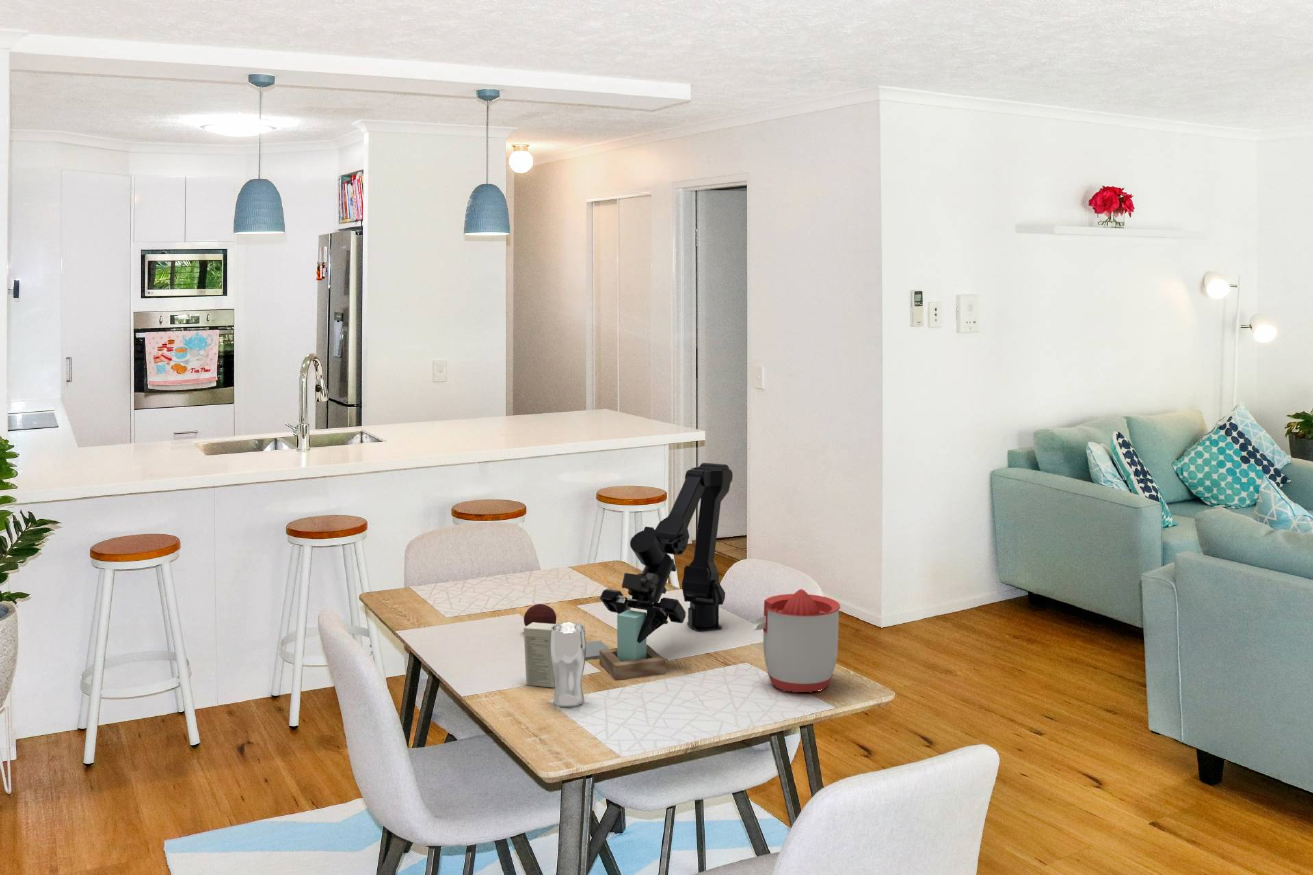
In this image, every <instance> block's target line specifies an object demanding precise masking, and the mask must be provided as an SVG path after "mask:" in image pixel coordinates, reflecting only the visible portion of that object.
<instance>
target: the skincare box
mask: <svg viewBox="0 0 1313 875" xmlns="http://www.w3.org/2000/svg"><path fill="white" fill-rule="evenodd" d="M556 624H557V623H556ZM556 624H548V623H535V622H532V623H531V624H529V625H528V626H524V627H523V638H524V642H523V643H524V659H525V660H524V662H525V679H526V680H525V684H526V685H527V686H532V687H533V686H534V687H543V688H555V679H554V673H553V668H552V663H551V656H550V638H551V627H552V626H554V625H556Z"/></svg>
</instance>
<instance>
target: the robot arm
mask: <svg viewBox="0 0 1313 875" xmlns="http://www.w3.org/2000/svg"><path fill="white" fill-rule="evenodd" d="M733 477H734V475H733V471H732V469H730V467H729V465H728V464H727V463H711V462H702V463H701V464H700V465H699V466H696V467H695V466H694V467H691V469H687V471H686V472H685V476H684V481H683V484H682V486H681V489H679V490H680V491H679V492H678V495H677V497H676V499H675V501H674V503H673V506H672V508H671V510H670V512H669V514H668V516H667V517H665V518H663V519H662V520H660V521H659V523H658V524H657V526H655V527H656V528H654V527H653V526H652V527H651V526H644V528H643V530H641V531H639V532H637V533H635V534H634V535H633V536H632V537H631V539H630V542H629V546H630V548H631V550H632V552H633V553H634V554H635V556H636V558H637V560H639V562H640V564H642V565H643V566H644V568H643V569H642V572H641V573H639V572H638V573H637V574H636V573H630V572H629V573H627V572H625V573H624V575H623V579H622V583H621V588H622V589H626V590H628V591H627V594H628V595H629V596H631V598H630V597H627V596H624V594H623V593H622V592H621V590H617V589H610V588H605V589H603V591H602V592H601V594H600V597H599V600H600V601H601V602H602V604H603V605H604V606H605V608H606V609H607V610H608V611H609V612H611V613H615V614H617V615H618V614H620V613H622V612H625V611H627V610H632V609H637V610H643V611H646V618H645V621H644V623H643V625H642V628H641V630H640V632H639V635H638V639H637V642H638V643H641V642H642V641H643V640H644V639H645V638H646V639H647V638H648V637H649V636H650V635H651V634H652V633H654V632H655V631H656V630H658V629H659V628H661V626H663V625H667V624H668V623H669V621H670V622H671V623H678V624H683V623H684V621H685V620H686V614H687V622H686V624H687V625H688V627H689V628H690V627H691V628H692V629H693V630H694V631H696V632H704V631H712V630H718V629H719V630H721V629H722V625H721V624H719V622H720V621H719V620H720V619H719V618H720V616H719V615H720V611H719V610H720V605H724V602H725V599H726V591H725V590H724V588H723V587H722V585H721V583H720V572H719V571H718V568H717V566H716V564H715V554H716V547H717V537H718V530H719V529H718V528H719V521H720V513H721V503H722V501H723V500H724V499H725V497H726V496H727V495H728V494H729V492H730V488H731V483H732V482H733ZM699 502H700V504H699ZM698 505H699V510H698V519H697V526H696V527H697V528H696V534H695V543H694V545H695V546H694V552H693V559H692V561H691V562H690V563H689V565H686V566H684V568H683V578H682V582H681V589H682V595H683V596H682V597H683V599H684V602H686V603H687V602H689V607H688V608H687V612H686V611H685V608H684V607H683V605H682V603H680V601H679V599H677V598H669V597H662V595H663V594H664V595H665V594H666V593H667V590H668V589H667V588H666V585H667V583H668V579H669V577H670V575H671V572H676V571H677V566H676V564H675V560H674V558H672V557H671V556H670V555H675V556H676V555H677V556H680V555H683V553H684V552H685V551H686V550H687V548H688V544H689V539H690V533H689V529H688V528H689V525H690V523H691V521H692V518H693V515H694V513H695V511H696V510H697V506H698ZM661 597H662V598H661ZM668 619H669V621H668Z"/></svg>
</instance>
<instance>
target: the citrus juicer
mask: <svg viewBox="0 0 1313 875" xmlns="http://www.w3.org/2000/svg"><path fill="white" fill-rule="evenodd" d="M763 603H764V604H763V616H760V617H758V618H756V620H755V622H754V624H753V630H754V631H760V630H763V633H762V634H763V640H762V642H763V643H762V644H763V646H762V648H763V658H764V663H765V667H766V670H767V671H766V672H767V675H768V677H769V681H770V682H771V684H772V685H773V686H774V687H775V688H777V689H779V688H780V689H779V690H781V691H782V690H785V691H788V692H790V691H792V692H791V693H798V692H809V693H813V692H812V691H818V690H821V689H823V688H825V689H826V687H827V686H828V687H829V685H830V683H831V681H832V678H833V676H834V671H835V668H836V665H837V661H838V660H837V659H838V651H839V613H840V608H841V604H840V603H839V602H838V601H837V600H835V599H832V598H831V597H826V596H822V595H817V594H810V593H808V592H806V590H805V589H802V588H800V589H798V590H797V591H796V592H794V593H787V594H786V593H785V594H778V595H773V596H772V595H771V596H770V597H767V598H765V599H764V602H763ZM828 687H827V688H828ZM823 690H824V689H823ZM785 691H784V692H785Z"/></svg>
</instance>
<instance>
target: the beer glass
mask: <svg viewBox="0 0 1313 875" xmlns="http://www.w3.org/2000/svg"><path fill="white" fill-rule="evenodd" d="M585 629H586V628H585V625H584V624H582V623H577V622H562V623H556V625H554V626H552V627H551V638H550V656H551V663H552V668H553V673H554V679H555V686H554V692H553V693H554V694H553V697H552V698H553V699H552V704H554V705H555V706H557V707H559V708H575V707H579V706H582V705H583V704H584V703H585V696H584V690H583V676H584V670H585V666H586V665H585V664H586V660H585V658H586V642H587V641H586V630H585Z"/></svg>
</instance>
